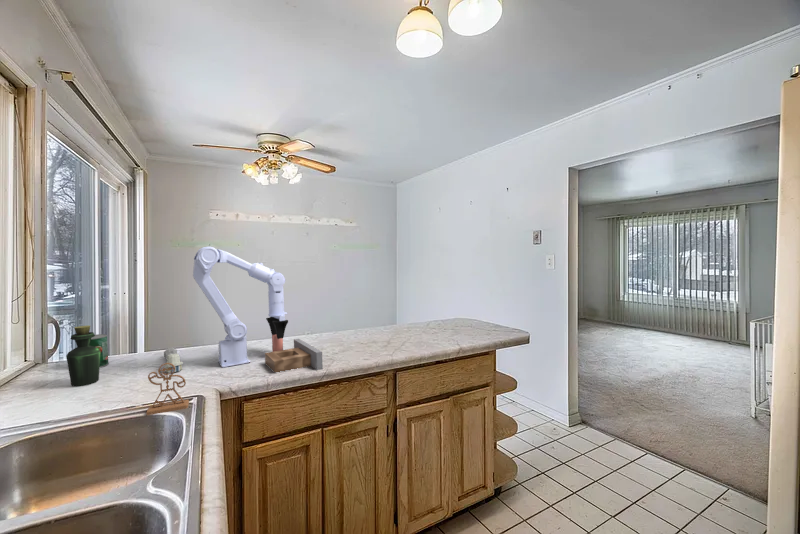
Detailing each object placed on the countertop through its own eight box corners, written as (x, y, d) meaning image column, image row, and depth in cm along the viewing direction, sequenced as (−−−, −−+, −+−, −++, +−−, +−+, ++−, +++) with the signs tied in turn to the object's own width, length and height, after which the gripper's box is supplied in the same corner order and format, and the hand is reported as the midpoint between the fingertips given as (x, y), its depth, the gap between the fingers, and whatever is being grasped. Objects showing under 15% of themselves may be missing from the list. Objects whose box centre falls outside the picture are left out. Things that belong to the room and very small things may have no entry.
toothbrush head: (177, 346, 140) (182, 350, 120) (178, 363, 140) (183, 370, 120) (161, 348, 137) (164, 353, 117) (162, 365, 137) (165, 373, 117)
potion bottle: (108, 379, 114) (106, 324, 113) (80, 388, 106) (77, 329, 105) (89, 377, 115) (86, 323, 115) (60, 386, 108) (57, 329, 107)
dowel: (274, 357, 135) (273, 336, 135) (271, 354, 139) (270, 334, 138) (284, 355, 138) (283, 335, 137) (281, 353, 141) (280, 333, 141)
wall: (317, 370, 119) (316, 352, 119) (294, 354, 139) (293, 339, 139) (322, 368, 120) (322, 351, 120) (299, 353, 140) (298, 338, 140)
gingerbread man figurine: (189, 402, 94) (187, 358, 94) (187, 408, 91) (185, 362, 90) (149, 409, 91) (147, 363, 90) (146, 415, 87) (144, 368, 87)
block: (274, 373, 117) (274, 361, 117) (265, 364, 127) (264, 353, 127) (310, 365, 124) (310, 354, 124) (299, 357, 134) (298, 347, 134)
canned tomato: (107, 361, 133) (106, 333, 133) (109, 366, 128) (108, 336, 127) (79, 366, 128) (77, 336, 127) (80, 371, 122) (78, 340, 122)
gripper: (292, 303, 134) (293, 338, 134) (281, 299, 146) (282, 331, 146) (273, 305, 130) (274, 341, 130) (263, 301, 142) (264, 334, 142)
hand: (277, 336), depth 138 cm, fingers open, 7 cm apart
